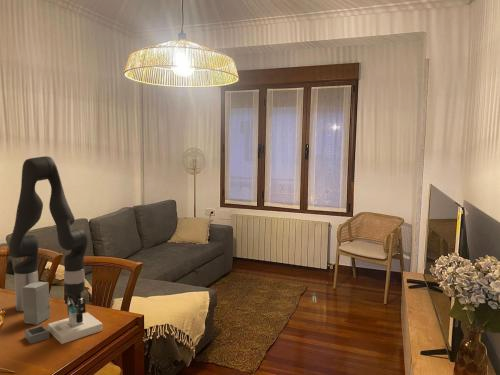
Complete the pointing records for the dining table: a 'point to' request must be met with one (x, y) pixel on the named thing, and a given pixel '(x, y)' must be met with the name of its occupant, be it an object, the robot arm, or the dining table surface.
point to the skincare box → (36, 302)
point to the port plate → (74, 328)
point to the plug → (73, 317)
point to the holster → (37, 334)
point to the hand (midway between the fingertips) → (75, 318)
